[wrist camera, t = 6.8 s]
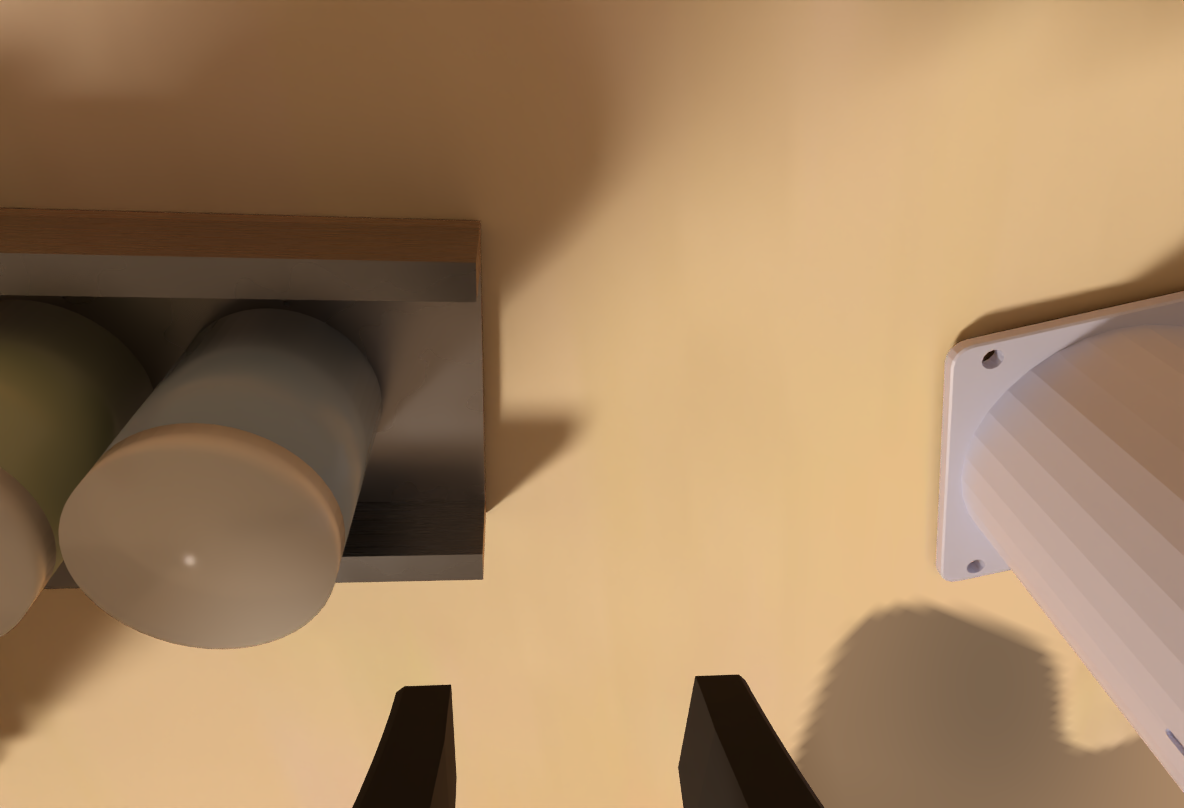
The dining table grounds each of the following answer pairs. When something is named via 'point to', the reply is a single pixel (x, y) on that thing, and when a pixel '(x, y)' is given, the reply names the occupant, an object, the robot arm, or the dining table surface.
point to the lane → (323, 291)
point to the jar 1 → (52, 432)
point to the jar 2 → (230, 485)
